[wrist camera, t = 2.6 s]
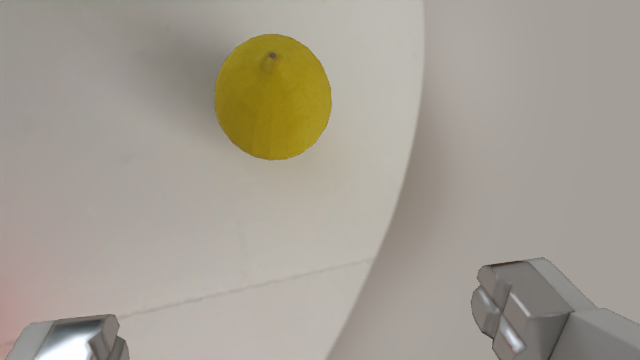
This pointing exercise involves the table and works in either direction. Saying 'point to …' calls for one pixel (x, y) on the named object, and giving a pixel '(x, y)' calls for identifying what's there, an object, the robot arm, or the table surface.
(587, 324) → the robot arm
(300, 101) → the fruit
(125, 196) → the table surface
